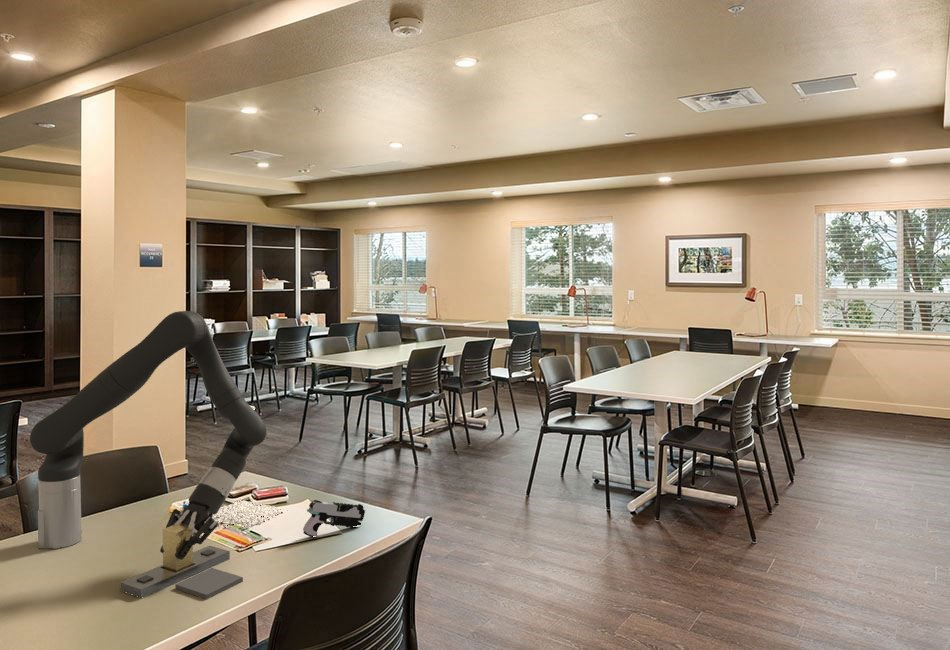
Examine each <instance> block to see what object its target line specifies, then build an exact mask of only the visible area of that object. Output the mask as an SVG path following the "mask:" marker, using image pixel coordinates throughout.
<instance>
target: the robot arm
mask: <svg viewBox="0 0 950 650" xmlns="http://www.w3.org/2000/svg"><path fill="white" fill-rule="evenodd" d="M183 349H186V350H187V352H189V354H190V355H191V357H192V358H193V359H194V362H195V363H196V365H197V367H198V369H199V372H200V374H201V375H200V376H201V378H202V381H203V385H204V388H205V390H206V393H207V395H208V397H209V398H210V400H211V402H212V404H213V405H214V407H215V408H216V410H217V411H218V414H220V416H221V417H222V418H223V419H226V420H229V422H230V423H231V424H232V426H233V427H234V428H233V429H232V430H231V433H230V434H229V436H228V437H227V439H226V441H225V443H224V445H223V447H222V450H221V451H220V453H219V454H218V456H217V457H216V458H215V460H214V461H213V462H212V464H211V466H210V467H209V469H208V470H207V471H206V472H205V473H204V475H202V478H201V479H200V481H199V482H198V483H197V485H196V487H195V488H194V490H193V491H192V493H191V494H190V496H189V497H188V504H187V506H186V507H184V509H182V510H181V509H180V510H179V509H177V508H174V509H173V510H172V512H171V515H170V516H169V519H168V521H167V523H166V526H165V528H167V527H170V526H173V525H176V524H178V525H179V524H184V525H188V527H190V528H189V533H188V534H187V536H186V539H185V540H186V541H183V543H182V544H181V546H180V547H179V549H178V551H177V552H176V553H175V557H177V558H178V559H180V560H182V559H183V558H184V557H185V556H186V555H187V553H188V552H189V550H190V549H191V547H192V546H193V547H194V546H195V545H202V544H203V543H204V541H206V539H207V538H208V537H210V535H211V534H212V533H213V532H214V531H215V530H216V528H217V527H219V526H218V524H219V523H218V522H217V521H215V519H212V517H213V515H214V514H215V515H216V514H218V513H217V512H218V511H219V509H220V508H221V507H223V505H224V503H225V501H226V499H227V498H228V497H229V495H230V493H231V491H232V490H233V488H234V486H235V483H236V482H237V480H238V478H239V477H240V475H241V474H242V473H243V470H244V468H245V466H246V464H247V461H246V460H247V458H248V456H249V455H250V453H251V451H252V450H253V449H254V448H255V447H256V446H259V445H260V444H262V443H263V442H264V441H265V440H266V437H267V433H268V432H267V427H266V425H265V423H264V420H263V419H262V417H260V415H259V414H258V413H257V412H256V410H254V408H253V407H251V405H250V404H249V403H248V402H247V401H246V399H245V398H244V396H243V394H242V392H241V391H240V389H239V387H238V386H237V384H236V383H235V381H234V379H233V377H232V376H231V374H230V372H229V370H228V368H227V367H226V365H225V364H224V361H223V360H222V358H221V356H220V353H219V351H218V349H217V347H216V344H215V342H214V340H213V337H212V335H211V332H210V329H209V326H208V323H206V320H205V319H204V317H203V316H202V315H201V314H199V313H198V312H197V311H196V312H195V311H193V310H192V311H191V310H181V311H179V310H178V311H175V312H171V313H170V314H168V315H167V316H165V317H164V318H163V319H162V320H161V321H159V323H158V324H157V325H156V326H155V328H153V330H151V332H150V333H148V335H147V336H145V338H143V340H142V341H140V342H139V343H137V345H135V346H134V347H132V348H131V349H129V350H128V351H126V352H125V353H124V354H123V355H120V357H119V358H117V359H116V360H114V361H113V362H112V363H111V364H109V365H108V366H107V367H106V368H105V369H103V370H102V371H100V373H99V374H97V375H96V376H95V377H94V378H93V379H92V380H90V381H89V382H88V383H87V384H86V385H85V386H84V387H83V388H81V390H79V392H77V393H76V394H75V395H74V396H73V397H72V398H71V399H70V400H69V401H67V402H66V403H65V404H63V405H62V406H60V407H59V408H57V409H56V410H55V411H53V412H51V413H50V414H49V415H46V417H44V418H42V419H40V420H39V421H38V422H37V423H35V425H34V426H33V428H32V430H31V432H30V435H29V444H30V446H31V448H32V449H33V450H34V451H35V452H37V453H39V454H42V455H45V458H44V460H43V462H42V464H41V465H40V467H39V468H38V469H37V481H38V483H37V484H38V485H37V486H38V511H37V528H38V529H37V531H38V532H37V536H38V549H39V548H41V549H48V548H53V549H60V547H62V548H67V547H70V546H73V545H76V544H78V543H79V542H80V541H82V539H83V538H82V537H83V536H82V535H83V534H82V532H83V531H82V502H81V501H82V500H81V499H82V497H81V495H82V494H81V493H82V491H81V467H82V465H83V461H84V445H85V444H84V441H85V440H84V437H85V436H84V435H85V433H84V429H85V427H86V426H88V425H89V424H90V423H92V422H93V421H94V420H96V419H98V418H100V417H101V416H104V415H105V414H107V413H109V412H110V411H112V410H113V409H116V408H117V407H119V406H120V405H121V404H123V403H125V402H126V401H127V400H128V399H129V398H131V397H132V396H133V395H135V394H136V393H137V392H138V391H140V390H141V389H142V388H143V386H145V384H146V383H147V382H148V381H149V379H150V378H151V377H152V375H153V374H154V373H155V371H156V370H157V369H158V367H159V366H160V365H161V364H163V363H164V362H165V361H166V360H167V359H169V358H171V357H172V356H173V355H175V354H176V353H178V352H179V351H182V350H183ZM66 546H67V547H66ZM159 552H160V553H161V554H163V544H162V545H161V547H160V549H159Z"/></svg>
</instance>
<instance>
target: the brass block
mask: <svg viewBox="0 0 950 650" xmlns="http://www.w3.org/2000/svg"><path fill="white" fill-rule="evenodd" d="M189 528H190V527H188V525H184V524H179V525H178V524H176V525H173V526H170V527H167V528H166V527H164V528H163V529H162V545H163V553H162V565H163V569H166V570H169V571H172V572H175V573H176V572H179V571H181V570H183V569H186V568H188V567H190V566H193V552H194V551H193V550H194V549H193V547H194V545H193V546H192V547H191V549H190V550H189V552H188V553H187V555H186V556H185V557H184V558H183V559H182V560H180V559H178V558H177V557H175V553H176V552H177V551H178V549H179V547H180V546H181V544H182V543H183V541H186V540H185V539H186V536H187V534H188V533H189Z"/></svg>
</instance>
